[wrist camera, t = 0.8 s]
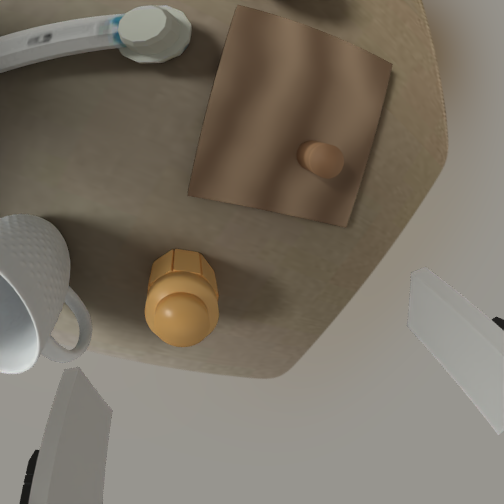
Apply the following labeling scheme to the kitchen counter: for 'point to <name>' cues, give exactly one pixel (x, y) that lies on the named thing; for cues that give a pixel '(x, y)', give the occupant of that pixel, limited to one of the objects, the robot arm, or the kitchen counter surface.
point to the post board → (289, 119)
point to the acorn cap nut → (182, 298)
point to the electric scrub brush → (102, 37)
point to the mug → (35, 294)
